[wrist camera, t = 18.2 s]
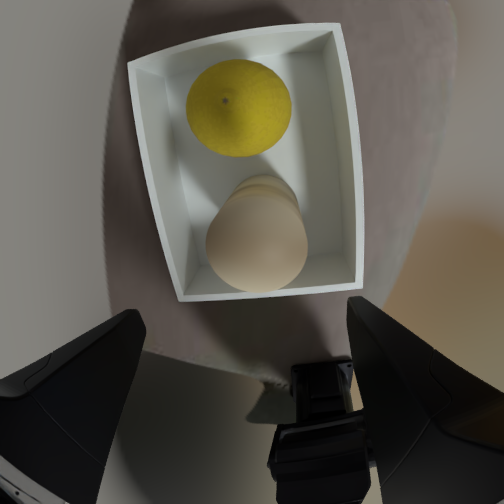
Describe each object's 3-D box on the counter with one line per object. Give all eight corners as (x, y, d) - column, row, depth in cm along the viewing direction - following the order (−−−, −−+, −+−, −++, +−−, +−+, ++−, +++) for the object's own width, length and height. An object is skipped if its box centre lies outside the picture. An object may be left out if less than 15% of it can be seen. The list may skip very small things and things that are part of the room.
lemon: (202, 85, 17) (154, 60, 9) (282, 70, 16) (282, 30, 8) (216, 158, 19) (175, 176, 11) (295, 146, 18) (305, 155, 11)
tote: (347, 255, 21) (362, 288, 17) (197, 268, 23) (178, 301, 19) (326, 47, 15) (339, 23, 10) (160, 74, 17) (127, 62, 12)
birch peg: (292, 245, 21) (297, 298, 15) (226, 236, 21) (204, 285, 15) (303, 180, 19) (316, 206, 12) (231, 170, 19) (207, 192, 13)
